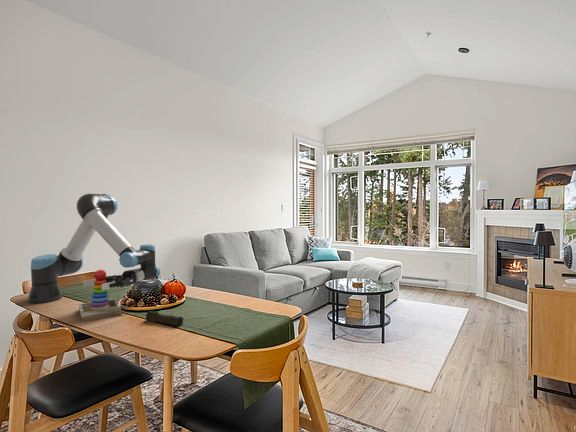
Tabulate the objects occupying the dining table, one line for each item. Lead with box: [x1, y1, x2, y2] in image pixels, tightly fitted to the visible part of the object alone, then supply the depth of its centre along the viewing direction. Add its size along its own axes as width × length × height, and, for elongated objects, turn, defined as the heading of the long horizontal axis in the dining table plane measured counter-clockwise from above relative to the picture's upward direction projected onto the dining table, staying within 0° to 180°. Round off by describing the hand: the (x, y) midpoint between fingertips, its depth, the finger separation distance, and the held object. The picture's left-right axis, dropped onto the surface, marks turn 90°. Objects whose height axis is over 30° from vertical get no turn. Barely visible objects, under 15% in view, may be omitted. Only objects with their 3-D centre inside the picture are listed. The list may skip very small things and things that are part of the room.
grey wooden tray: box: [78, 298, 123, 323], centre depth 167 cm, size 20×16×4 cm
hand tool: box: [145, 310, 184, 328], centre depth 153 cm, size 19×4×5 cm, turn 64°
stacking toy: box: [90, 269, 109, 310], centre depth 167 cm, size 8×8×19 cm
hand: (92, 285), depth 164 cm, fingers open, 13 cm apart
